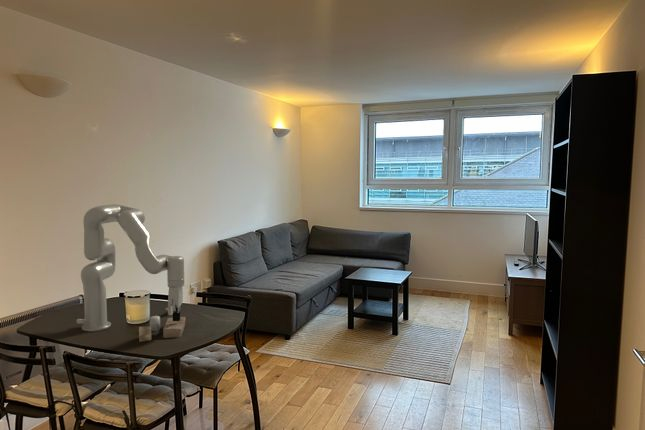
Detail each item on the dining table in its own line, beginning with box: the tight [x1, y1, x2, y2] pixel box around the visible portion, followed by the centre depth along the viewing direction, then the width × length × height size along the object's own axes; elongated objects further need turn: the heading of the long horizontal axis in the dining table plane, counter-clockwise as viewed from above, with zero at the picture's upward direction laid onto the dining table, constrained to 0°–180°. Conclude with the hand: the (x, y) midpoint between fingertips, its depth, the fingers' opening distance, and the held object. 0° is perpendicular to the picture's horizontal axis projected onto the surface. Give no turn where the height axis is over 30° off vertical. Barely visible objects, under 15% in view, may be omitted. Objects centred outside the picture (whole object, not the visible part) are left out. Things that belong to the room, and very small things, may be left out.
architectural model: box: [164, 306, 173, 316], centre depth 237 cm, size 3×7×7 cm, turn 169°
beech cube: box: [138, 325, 152, 342], centre depth 201 cm, size 5×5×5 cm
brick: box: [162, 316, 186, 339], centre depth 211 cm, size 17×8×5 cm, turn 11°
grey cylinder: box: [149, 315, 161, 332], centre depth 213 cm, size 5×5×6 cm
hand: (176, 320), depth 210 cm, fingers closed
